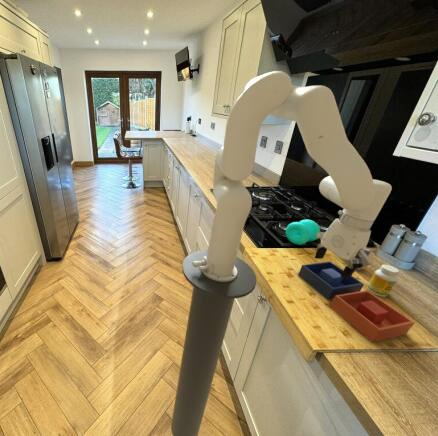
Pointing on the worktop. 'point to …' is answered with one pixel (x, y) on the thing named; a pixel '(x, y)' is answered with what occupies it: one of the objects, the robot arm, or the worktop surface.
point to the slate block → (331, 277)
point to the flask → (361, 259)
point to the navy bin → (312, 277)
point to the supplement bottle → (383, 280)
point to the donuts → (302, 231)
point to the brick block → (372, 311)
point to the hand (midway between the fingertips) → (330, 266)
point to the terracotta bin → (347, 308)
